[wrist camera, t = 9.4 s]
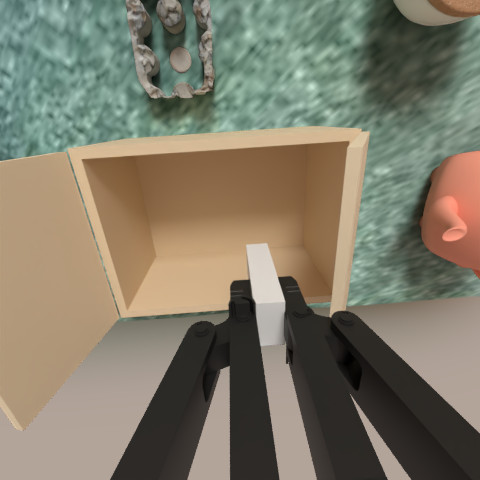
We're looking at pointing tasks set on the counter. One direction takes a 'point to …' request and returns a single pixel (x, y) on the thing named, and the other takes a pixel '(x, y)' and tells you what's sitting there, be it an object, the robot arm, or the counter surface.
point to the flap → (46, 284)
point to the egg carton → (179, 57)
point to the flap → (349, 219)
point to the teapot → (454, 211)
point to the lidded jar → (438, 10)
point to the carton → (213, 212)
